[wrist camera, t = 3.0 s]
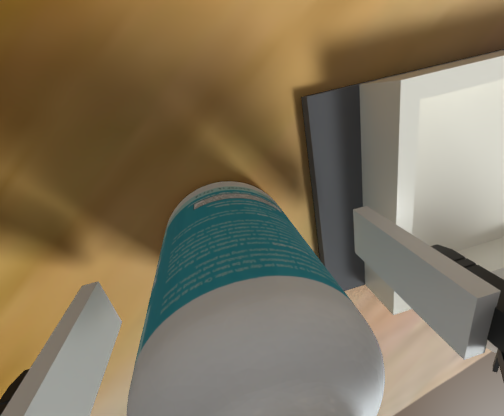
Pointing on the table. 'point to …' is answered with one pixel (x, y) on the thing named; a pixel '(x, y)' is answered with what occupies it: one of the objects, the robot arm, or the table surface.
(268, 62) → the table surface
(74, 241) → the table surface
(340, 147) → the mat
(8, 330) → the table surface
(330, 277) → the pill bottle
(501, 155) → the tray
